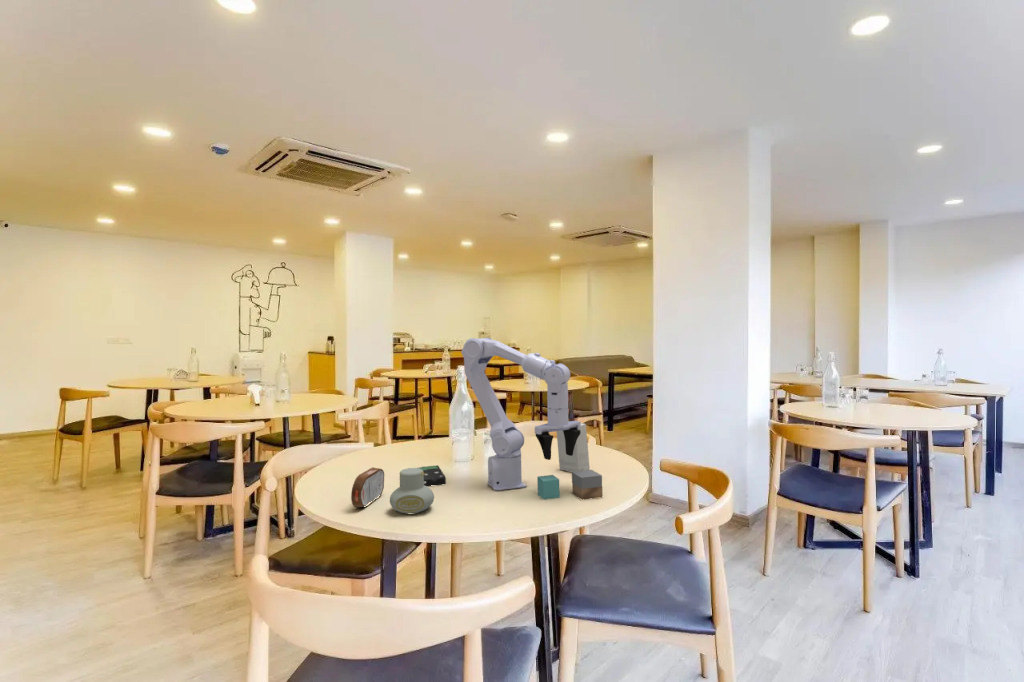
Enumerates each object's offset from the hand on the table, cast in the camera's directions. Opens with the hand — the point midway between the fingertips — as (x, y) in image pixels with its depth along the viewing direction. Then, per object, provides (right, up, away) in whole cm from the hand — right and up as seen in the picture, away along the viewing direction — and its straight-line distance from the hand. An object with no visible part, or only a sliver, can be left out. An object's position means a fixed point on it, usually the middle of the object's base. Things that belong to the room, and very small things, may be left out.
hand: (558, 457), depth 140 cm
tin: (-51, -11, -6) cm, 52 cm away
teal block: (-3, -10, -4) cm, 11 cm away
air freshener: (-38, -11, -13) cm, 41 cm away
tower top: (+7, -7, -3) cm, 11 cm away
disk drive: (-39, -11, +14) cm, 43 cm away
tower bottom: (+7, -10, -4) cm, 13 cm away
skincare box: (+7, -9, +21) cm, 24 cm away
